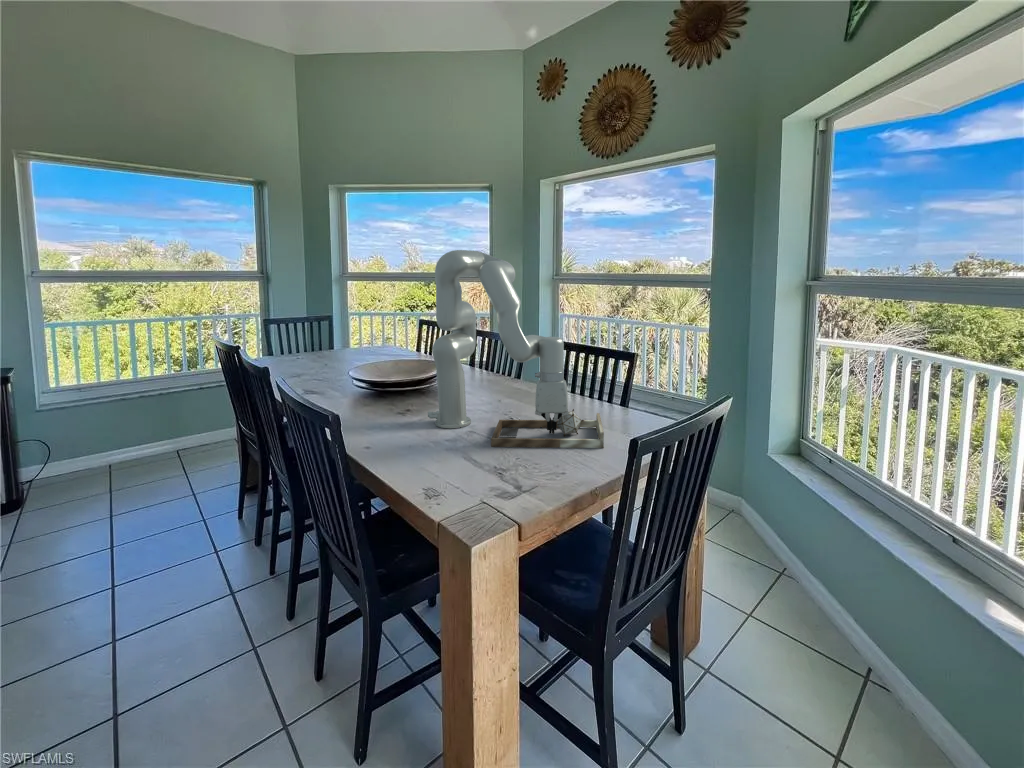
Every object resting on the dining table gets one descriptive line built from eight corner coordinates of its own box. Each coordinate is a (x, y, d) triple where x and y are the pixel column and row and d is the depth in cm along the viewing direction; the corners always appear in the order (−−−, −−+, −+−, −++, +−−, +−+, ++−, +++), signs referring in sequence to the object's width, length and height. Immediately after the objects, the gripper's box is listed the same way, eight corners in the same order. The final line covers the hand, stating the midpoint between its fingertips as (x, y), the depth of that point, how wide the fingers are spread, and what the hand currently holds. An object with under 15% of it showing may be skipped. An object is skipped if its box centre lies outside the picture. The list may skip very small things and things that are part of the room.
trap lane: (491, 446, 154) (490, 431, 153) (499, 426, 173) (499, 412, 172) (603, 448, 150) (603, 432, 149) (599, 427, 170) (599, 413, 168)
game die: (573, 446, 163) (583, 428, 155) (549, 437, 163) (558, 419, 156) (578, 426, 169) (588, 408, 162) (555, 417, 169) (564, 398, 162)
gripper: (526, 379, 154) (527, 435, 158) (575, 379, 153) (575, 436, 157) (528, 374, 162) (529, 428, 166) (575, 374, 160) (575, 428, 164)
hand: (551, 432), depth 161 cm, fingers closed
